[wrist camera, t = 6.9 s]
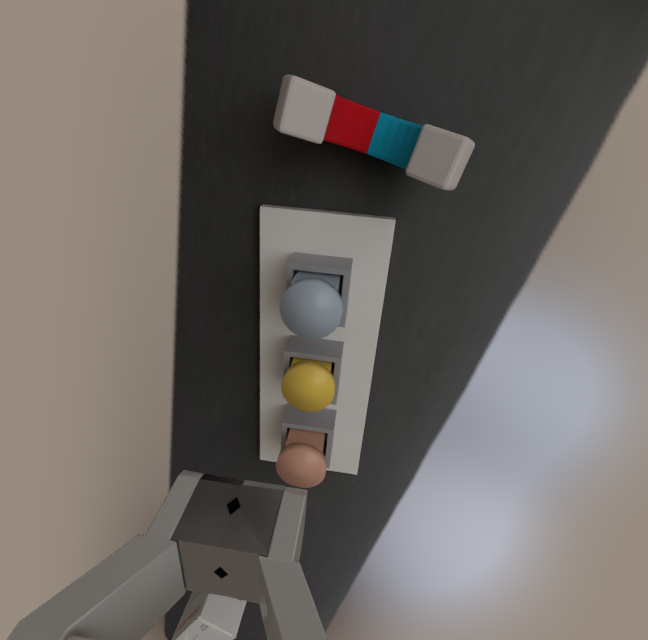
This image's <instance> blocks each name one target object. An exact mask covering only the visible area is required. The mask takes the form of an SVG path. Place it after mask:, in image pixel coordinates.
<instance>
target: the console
mask: <svg viewBox="0 0 648 640" xmlns="http://www.w3.org/2000/svg"><path fill="white" fill-rule="evenodd" d="M395 222H396V218H395V217H386V216H376V215H366V214H356V213H346V212H336V211H326V210H316V209H306V208H296V207H286V206H276V205H266V204H263V205H261V206H260V460H266V461H273V462H277V459H278V456H279V453H280V451H281V450H282V448H284V447H285V444H286V441H287V438H288V434H289V431H290V428H295V429H301V430H308V431H315V432H322V433H326V435H325V445H324V453H323V454H324V456H325V458H326V461H327V467H326V470H330V471H337V472H343V473H349V474H356V475H357V471H358V464H359V458H360V451H361V445H362V438H363V432H364V425H365V419H366V412H367V405H368V399H369V392H370V386H371V379H372V373H373V366H374V359H375V353H376V346H377V340H378V333H379V327H380V320H381V313H382V307H383V300H384V294H385V287H386V281H387V274H388V268H389V261H390V254H391V248H392V241H393V235H394V228H395ZM298 270H301V271H310V272H319V273H328V274H336V275H341V280H340V290H339V294H340V296H341V298H342V302H343V312H342V317H341V320H340V323H339V325H338V327H337V328H336V329H335V330H334V332H332V333H331V334H330V335H328V336H326V337H323V338H320V339H307V338H303V337H300V336H298V335H296V334H294V333H293V332H291V331H290V330H289V329H288V328H287V327H286V325H285V324H284V322H283V320H282V318H281V315H280V302H281V299H282V297H283V295H284V293H285V292H286V290H287V289H288V287H289V286H290V285H291V282H292V280H293V279H294V277H295V275H296V274H297V272H298ZM294 357H296V358H304V359H311V360H319V361H326V362H333V371H332V374H333V376H334V379H335V383H336V387H335V393H334V397H333V400H332V402H331V403H330V404H329V405H328V406H327V407H326V408H324V409H322V410H319V411H314V412H307V411H302V410H299V409H297V408H295V407H293V406H292V405H290V404H289V403H288V402H287V401H286V399H285V398H284V396H283V394H282V390H281V383H282V380H283V378H284V375H285V373H286V371H287V369H288V368H289V367H290V366H291V363H292V361H293V358H294Z"/></svg>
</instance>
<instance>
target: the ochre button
mask: <svg viewBox="0 0 648 640" xmlns="http://www.w3.org/2000/svg"><path fill="white" fill-rule="evenodd" d="M332 371H333V362H326V361H319V360H311V359H304V358H296V357H294V358H293V361H292V363H291V366H290V367H289V368H288V369H287V371H286V373H285V375H284V378H283V380H282V383H281V390H282V394H283V396H284V398H285V399H286V401H287V402H288V403H289V404H290V405H292V406H293V407H295V408H297V409H299V410H302V411H307V412H314V411H319V410H322V409H324V408H326V407H327V406H328V405H329V404H330V403H331V402H332V400H333V397H334V393H335V387H336V383H335V379H334V376H333V374H332Z"/></svg>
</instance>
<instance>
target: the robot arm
mask: <svg viewBox="0 0 648 640" xmlns="http://www.w3.org/2000/svg"><path fill="white" fill-rule="evenodd" d="M306 504H307V490H303V489H297V488H290V487H286V486H281V485H274V484H267V483H260V482H254V481H247V480H245V481H242V480H237V479H231V478H226V477H220V476H215V475H209V474H205V473H199V472H192V471H186V470H183V471H182V472H181V473H180V475H179V476H178V477H177V479H176V480H175V482H174V484H173V486H172V488H171V489H170V491H169V493H168V495H167V497H166V499H165V500H164V502H163V504H162V506H161V508H160V509H159V511H158V513H157V515H156V517H155V519H154V520H153V522H152V524H151V526H150V527H149V529H148V531H147V533H146V535H145V536H144V535H137V536H136V537H135V538H133V539H132V540H131V541H129V542H128V543H126V544H125V545H124V546H122V547H121V548H120V549H118V550H117V551H115V552H114V553H113V554H111V555H110V556H109V557H107V558H106V559H105V560H103V561H102V562H100V563H99V564H98V565H96V566H95V567H94V568H92V569H91V570H89V571H88V572H87V573H85V574H84V575H83V576H81V577H80V578H78V579H77V580H76V581H74V582H73V583H72V584H70V585H69V586H67V587H66V588H65V589H63V590H62V591H61V592H59V593H58V594H56V595H55V596H54V597H52V598H51V599H50V600H48V601H47V602H46V603H44V604H43V605H42V606H40V607H39V608H37V609H36V610H34V611H33V612H32V613H30V614H29V615H28V616H26V617H25V618H24V619H22V620H21V621H19V623H18V624H17V625H16V627H15V628H14V630H13V631H12V633H11V634H10V635H9V637H8V638H7V640H141V639H142V638H143V637H144V635H145V634H146V633H147V632H148V631H149V630H150V629H151V628H152V627H153V626H154V625H155V624H156V623H157V622H158V621H159V620H160V619H161V618H162V617H163V616H164V615H165V614H166V613H167V612H168V611H169V610H170V608H171V607H172V606H173V605H174V604H175V603H176V602H177V601H178V600H179V599H180V598H181V597H182V596H183V595H184V594H185V590H189V591H195V592H202V593H208V594H215V595H221V596H226V597H231V598H236V599H240V600H245V601H249V602H254V603H259V604H260V609H261V613H262V618H263V622H264V626H265V631H266V635H267V640H327V638H326V635H325V632H324V629H323V626H322V624H321V621H320V618H319V615H318V613H317V610H316V607H315V604H314V601H313V599H312V596H311V593H310V590H309V587H308V585H307V582H306V579H305V576H304V574H303V571H302V568H301V565H300V563H299V558H300V553H301V547H302V540H303V533H304V525H305V515H306Z"/></svg>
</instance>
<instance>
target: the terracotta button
mask: <svg viewBox="0 0 648 640" xmlns="http://www.w3.org/2000/svg"><path fill="white" fill-rule="evenodd" d="M325 435H326V433H322V432H315V431H308V430H301V429H295V428H290V431H289V434H288V438H287V441H286V444H285V447H284V448H282V450H281V451H280V453H279V456H278V459H277V462H276V470H277V473H278V475H279V476H280V477H281V478H282V479H283V480H284V481H285V482H287V483H288V484H290V485H293V486H296V487H301V488H309V487H313V486H316V485H318V484H319V483H321V482H322V481H323V479H324V477H325V473H326V467H327V461H326V458H325V456H324V454H323V453H324V445H325Z"/></svg>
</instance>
